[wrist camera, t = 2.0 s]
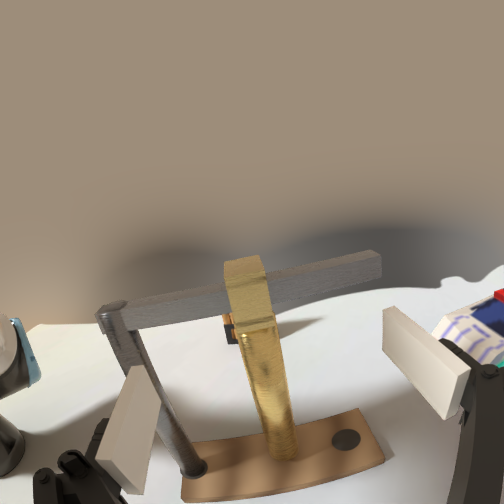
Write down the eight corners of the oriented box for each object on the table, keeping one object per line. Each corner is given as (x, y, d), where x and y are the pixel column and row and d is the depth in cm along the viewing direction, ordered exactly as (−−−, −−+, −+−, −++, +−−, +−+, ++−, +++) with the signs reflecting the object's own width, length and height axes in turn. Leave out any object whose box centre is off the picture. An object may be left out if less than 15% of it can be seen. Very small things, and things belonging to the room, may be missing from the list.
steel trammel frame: (182, 477, 28) (92, 316, 22) (184, 460, 31) (104, 303, 25) (375, 438, 29) (383, 256, 23) (367, 423, 32) (368, 248, 26)
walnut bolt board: (181, 502, 25) (177, 497, 25) (186, 448, 35) (183, 442, 34) (383, 462, 26) (385, 456, 25) (357, 414, 35) (358, 407, 35)
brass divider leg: (273, 468, 28) (219, 278, 21) (268, 444, 32) (220, 262, 25) (302, 462, 28) (268, 268, 21) (295, 439, 32) (261, 254, 25)
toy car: (556, 326, 32) (565, 288, 29) (473, 394, 30) (487, 350, 28) (509, 299, 48) (514, 265, 46) (421, 344, 47) (425, 304, 44)
